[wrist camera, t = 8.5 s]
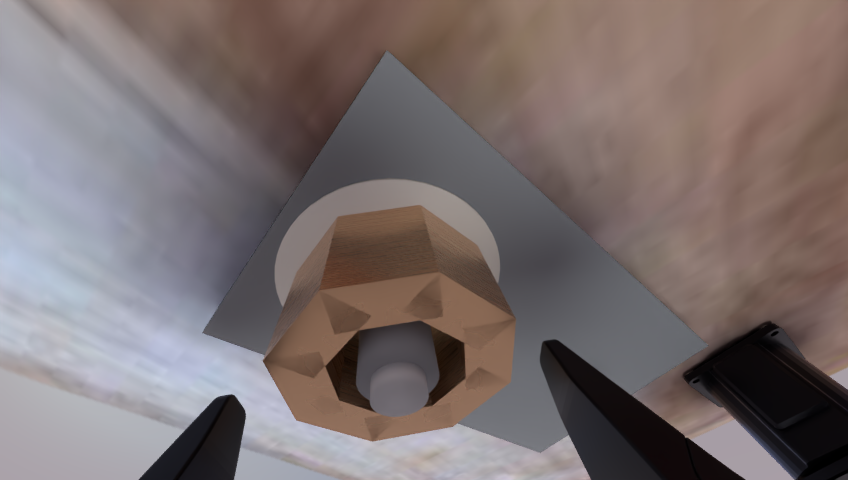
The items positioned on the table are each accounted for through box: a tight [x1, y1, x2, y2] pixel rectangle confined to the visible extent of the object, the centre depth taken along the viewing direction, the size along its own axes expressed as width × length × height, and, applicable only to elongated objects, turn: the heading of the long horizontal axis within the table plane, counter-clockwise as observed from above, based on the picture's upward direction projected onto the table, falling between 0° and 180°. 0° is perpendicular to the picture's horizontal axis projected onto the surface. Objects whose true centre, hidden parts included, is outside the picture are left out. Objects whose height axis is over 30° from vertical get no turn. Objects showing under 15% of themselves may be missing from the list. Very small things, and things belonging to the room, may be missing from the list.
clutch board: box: [202, 51, 708, 453], centre depth 14 cm, size 23×13×7 cm, turn 50°
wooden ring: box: [263, 205, 516, 441], centre depth 11 cm, size 7×7×4 cm
